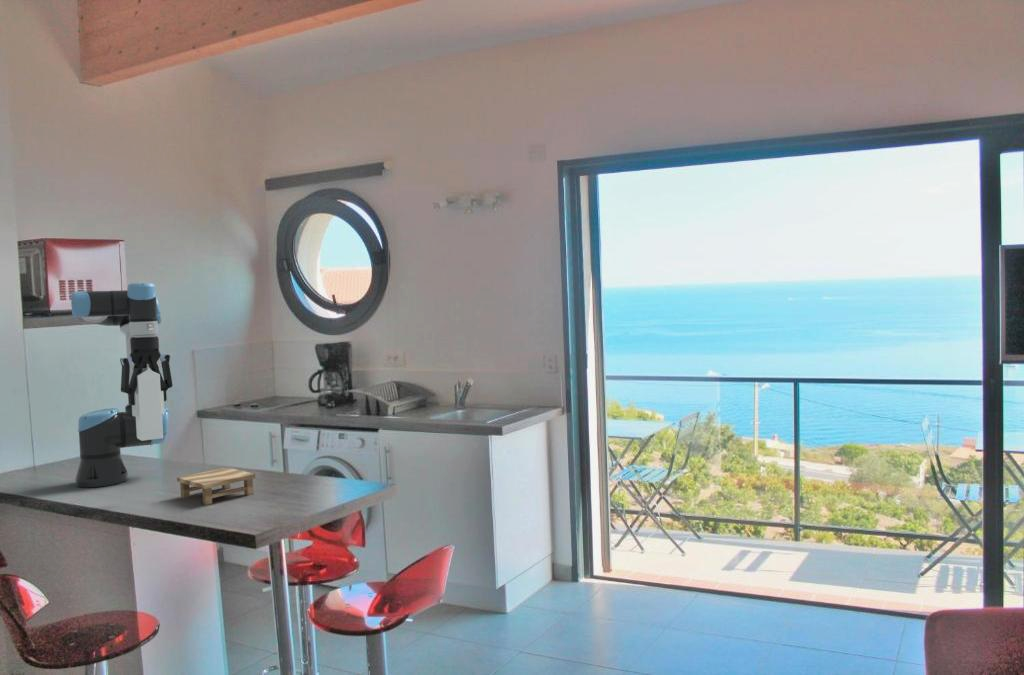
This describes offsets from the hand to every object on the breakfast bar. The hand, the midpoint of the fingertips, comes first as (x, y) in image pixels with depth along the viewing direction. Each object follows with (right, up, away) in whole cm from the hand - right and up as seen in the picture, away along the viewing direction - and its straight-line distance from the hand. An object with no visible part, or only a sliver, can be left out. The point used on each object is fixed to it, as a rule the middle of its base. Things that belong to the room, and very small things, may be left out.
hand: (148, 414), depth 233 cm
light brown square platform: (+19, -24, +2) cm, 31 cm away
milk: (0, -7, 0) cm, 7 cm away
